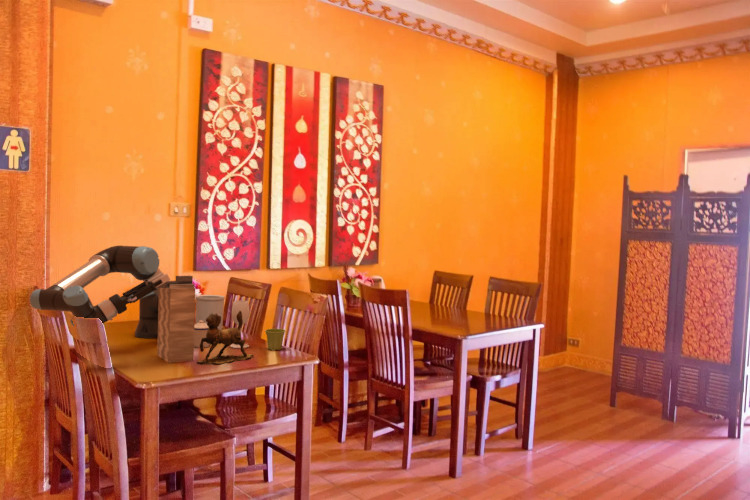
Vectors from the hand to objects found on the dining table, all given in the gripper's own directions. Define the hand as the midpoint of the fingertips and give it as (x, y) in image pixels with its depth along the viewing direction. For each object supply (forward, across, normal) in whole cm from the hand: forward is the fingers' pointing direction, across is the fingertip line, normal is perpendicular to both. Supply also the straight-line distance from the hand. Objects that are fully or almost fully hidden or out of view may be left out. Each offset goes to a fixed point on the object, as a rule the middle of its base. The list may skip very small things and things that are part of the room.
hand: (166, 276), depth 246 cm
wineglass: (+16, -13, -49) cm, 53 cm away
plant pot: (+26, -1, -55) cm, 61 cm away
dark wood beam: (-1, 0, -5) cm, 5 cm away
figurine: (+2, +10, -42) cm, 43 cm away
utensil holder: (+19, -62, -51) cm, 83 cm away
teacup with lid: (+3, -23, -42) cm, 48 cm away
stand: (-13, -3, -33) cm, 35 cm away
